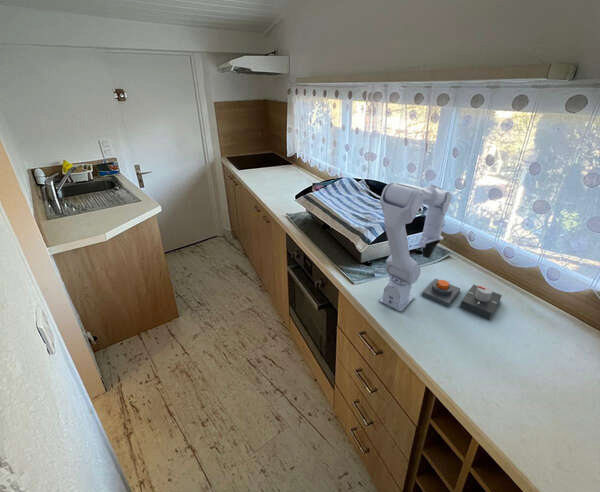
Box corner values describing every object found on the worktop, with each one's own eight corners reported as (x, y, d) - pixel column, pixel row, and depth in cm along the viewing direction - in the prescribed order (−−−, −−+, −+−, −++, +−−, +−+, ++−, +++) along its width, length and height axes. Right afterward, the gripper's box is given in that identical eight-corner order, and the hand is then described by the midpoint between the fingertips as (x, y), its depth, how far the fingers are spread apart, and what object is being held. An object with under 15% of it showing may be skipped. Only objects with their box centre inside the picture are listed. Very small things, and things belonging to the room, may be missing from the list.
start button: (445, 291, 105) (446, 287, 105) (435, 287, 108) (436, 283, 107) (449, 286, 108) (450, 282, 107) (439, 282, 110) (440, 278, 109)
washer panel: (489, 320, 97) (491, 312, 96) (459, 307, 103) (461, 300, 101) (499, 301, 105) (502, 294, 103) (471, 290, 110) (473, 283, 109)
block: (447, 307, 103) (450, 299, 101) (421, 295, 108) (423, 287, 107) (459, 291, 110) (461, 284, 108) (434, 281, 115) (436, 274, 114)
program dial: (491, 297, 102) (494, 288, 101) (487, 303, 100) (490, 294, 98) (477, 291, 105) (480, 282, 103) (472, 297, 102) (475, 288, 100)
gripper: (436, 234, 98) (428, 269, 105) (453, 219, 107) (445, 252, 114) (415, 227, 102) (409, 261, 109) (433, 214, 112) (426, 246, 118)
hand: (426, 256), depth 112 cm, fingers closed
